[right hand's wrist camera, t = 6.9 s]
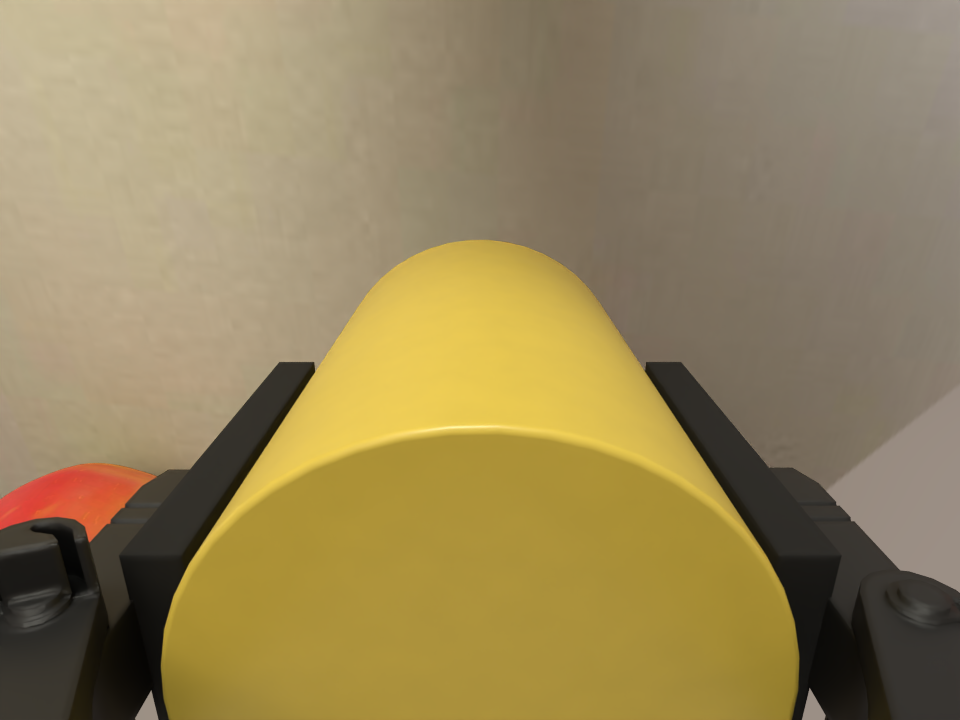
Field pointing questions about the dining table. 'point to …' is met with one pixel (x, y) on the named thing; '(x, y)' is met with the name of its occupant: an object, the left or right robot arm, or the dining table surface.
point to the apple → (75, 495)
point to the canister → (480, 529)
